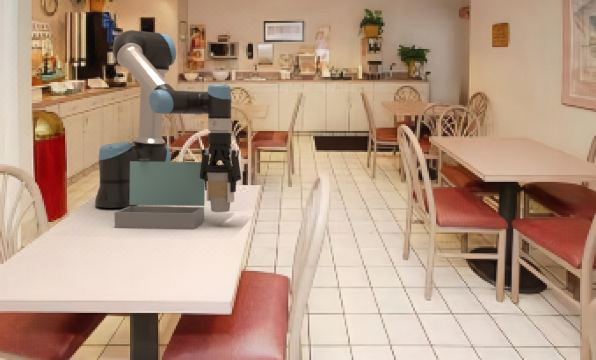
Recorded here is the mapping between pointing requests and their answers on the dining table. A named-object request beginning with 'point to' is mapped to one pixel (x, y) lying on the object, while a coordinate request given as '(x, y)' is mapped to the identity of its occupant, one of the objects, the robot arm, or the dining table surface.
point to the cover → (166, 183)
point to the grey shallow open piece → (159, 217)
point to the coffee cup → (218, 187)
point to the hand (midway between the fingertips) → (220, 201)
